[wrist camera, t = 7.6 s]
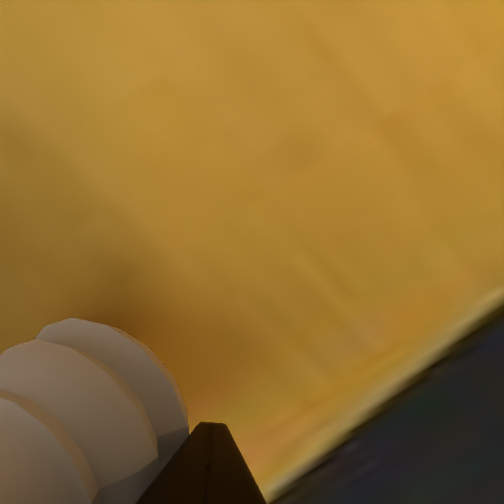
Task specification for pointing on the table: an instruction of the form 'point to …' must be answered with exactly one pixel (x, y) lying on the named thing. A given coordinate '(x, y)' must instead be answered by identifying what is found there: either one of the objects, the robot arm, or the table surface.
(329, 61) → the table surface
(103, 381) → the rook chess piece
